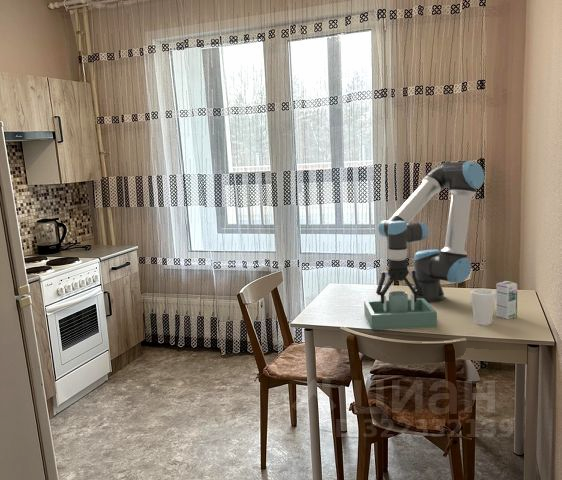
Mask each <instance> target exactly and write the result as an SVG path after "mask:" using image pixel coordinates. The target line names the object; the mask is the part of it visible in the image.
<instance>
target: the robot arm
mask: <svg viewBox="0 0 562 480" xmlns="http://www.w3.org/2000/svg"><path fill="white" fill-rule="evenodd" d="M484 181H485V173H484V169H483V168H482V166H481V165H480V164H479V163H478V162H476V161H467V160H466V161H446V162H444V163H443V162H442V163H441V164H439V165H437V166H436V167H434V168H433V169H432V170H430V171H429V172H428V173H427V174H426V175H425V176H424V177H423V179H422V182H421V184H420V185H419V186H418V187H417V188H416V189H415V190H414V191H413V193H412V194H411V195H410V196H409V197H408V199H407V200H406V201H405V202H404V203H403V204H402V205H401V206H400V208H398V209H397V211H395V213H394V214H393V215H392V216H391V217H390V218H389V220H388V219H386V220H381V222H380V223H379V224H378V227H377V228H378V233H379V235H380V236H381V237H384V238H387V246H388V248H387V249H388V270H387V271H383V270H381V272H380V279H379V282H378V285H377V288H376V292H375V293H376V294H377V296H380V300H381V303H383V310H384V311H386V300H387V295H386V294H387V291H388V290H389V288H390V287H391V285H392V284H394V282H399V281H400V282H403V281H404V283H405V284H406V285H407V286H408V287H409V289H410V291H411V293H410V299H411V309H412V310H414V302H416V301H417V298H424V299H425V300H426V301H427V302H428V303H434V302H435V303H436V302H441V301H443V300H444V299H445V292H444V290H443V287H442V283H441V281H444V282H449V283H455V284H460V283H464V282H465V281H466V280H467V279H468V278H469V277H470V275H471V271H472V263H471V260H470V259H469V258H468V253H467V251H466V250H465V247H466V241H467V233H468V227H469V219H470V212H471V204H472V198H473V196H475V195H476V194H477V191H478V190H479V188H481V187H482V185H483V184H484ZM446 188H448V192H449V193H450V194H451V199H450V206H449V211H448V212H449V213H448V219H447V225H446V234H445V239H444V240H445V241H444V247H443V248H441V250H439V249H425V250H419V251H416V252H415V253H414V260H413V261H414V262H413V263H414V265H413V266H414V267H413V268H414V269H408V259H407V258H408V243H414V242H420V241H422V240H425V239H427V237H428V236H429V227H428V225H427V224H426V223H425V222H417V221H416V222H411V221H413V219H414V218H415V217H416V216H417V215H418V213H420V212H421V210H422V209H423V208H424V207H425V206H426V204H427V203H429V202H430V200H431V199H432V198H433V197H434V195H435V194H439V193H440V192H441V191H443V190H444V189H446ZM477 189H478V190H477ZM408 275H410V276H411V279H412V282H413V285H412V284H411V282H410V281H409V279H408V278H407V276H408ZM387 276H389V277H388V280H387V282H386V283H385V281H386V278H387ZM384 284H385V285H384ZM383 286H384V287H383Z"/></svg>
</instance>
